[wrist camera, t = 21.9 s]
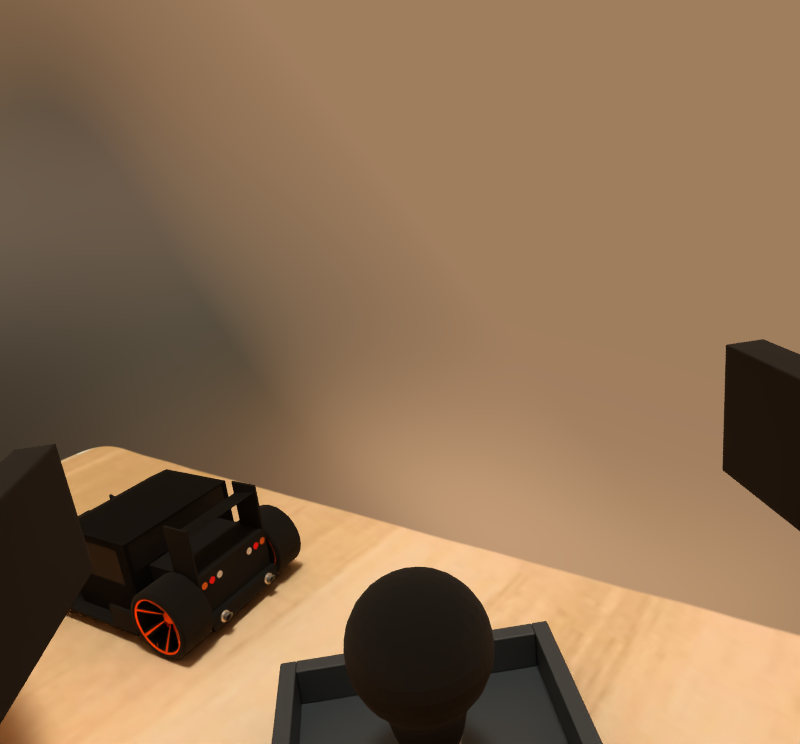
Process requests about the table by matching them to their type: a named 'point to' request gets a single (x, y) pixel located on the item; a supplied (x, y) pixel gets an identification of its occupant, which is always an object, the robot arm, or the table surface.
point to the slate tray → (485, 721)
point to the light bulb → (419, 653)
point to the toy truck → (180, 557)
